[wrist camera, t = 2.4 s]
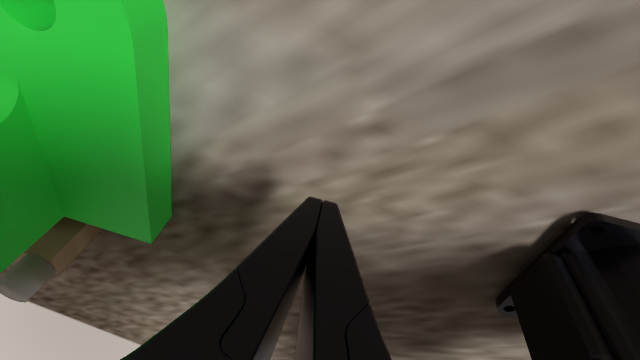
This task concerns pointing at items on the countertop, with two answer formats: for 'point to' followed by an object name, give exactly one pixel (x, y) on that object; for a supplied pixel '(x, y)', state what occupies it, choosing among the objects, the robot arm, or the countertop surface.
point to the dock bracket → (46, 258)
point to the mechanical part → (83, 119)
